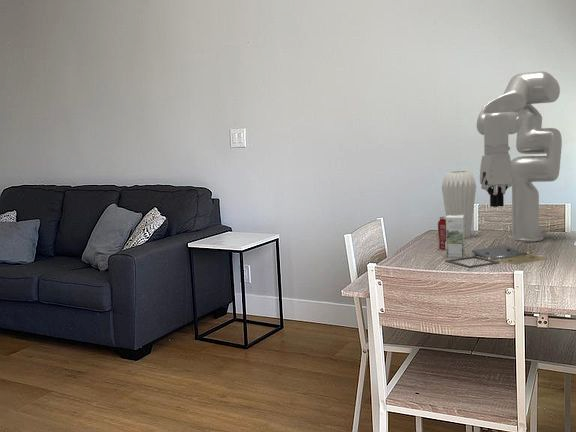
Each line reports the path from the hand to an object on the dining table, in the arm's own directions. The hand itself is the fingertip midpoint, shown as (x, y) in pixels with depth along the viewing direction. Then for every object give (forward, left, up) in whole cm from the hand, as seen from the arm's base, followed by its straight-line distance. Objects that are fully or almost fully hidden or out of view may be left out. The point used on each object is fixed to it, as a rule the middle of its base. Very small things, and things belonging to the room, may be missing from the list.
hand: (496, 206), depth 203 cm
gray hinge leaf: (0, +1, -16) cm, 16 cm away
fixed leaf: (0, +10, -17) cm, 20 cm away
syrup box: (+12, -6, -17) cm, 22 cm away
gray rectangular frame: (+15, +6, -17) cm, 23 cm away
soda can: (+6, -18, -17) cm, 26 cm away
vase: (-15, -38, -17) cm, 45 cm away
